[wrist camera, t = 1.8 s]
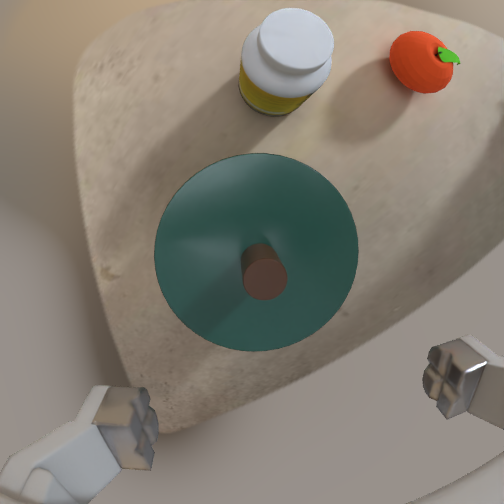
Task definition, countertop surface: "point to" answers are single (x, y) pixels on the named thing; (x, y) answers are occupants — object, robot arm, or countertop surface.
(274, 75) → the pill bottle
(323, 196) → the lid
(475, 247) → the countertop surface
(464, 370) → the robot arm
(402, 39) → the clementine
